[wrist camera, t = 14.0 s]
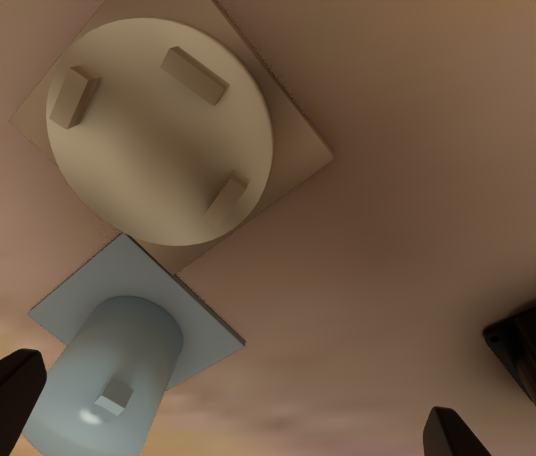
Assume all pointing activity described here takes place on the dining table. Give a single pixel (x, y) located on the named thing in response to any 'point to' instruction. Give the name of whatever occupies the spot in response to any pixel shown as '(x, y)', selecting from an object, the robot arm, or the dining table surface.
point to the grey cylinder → (107, 382)
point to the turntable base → (277, 98)
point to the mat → (145, 287)
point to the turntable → (160, 130)
